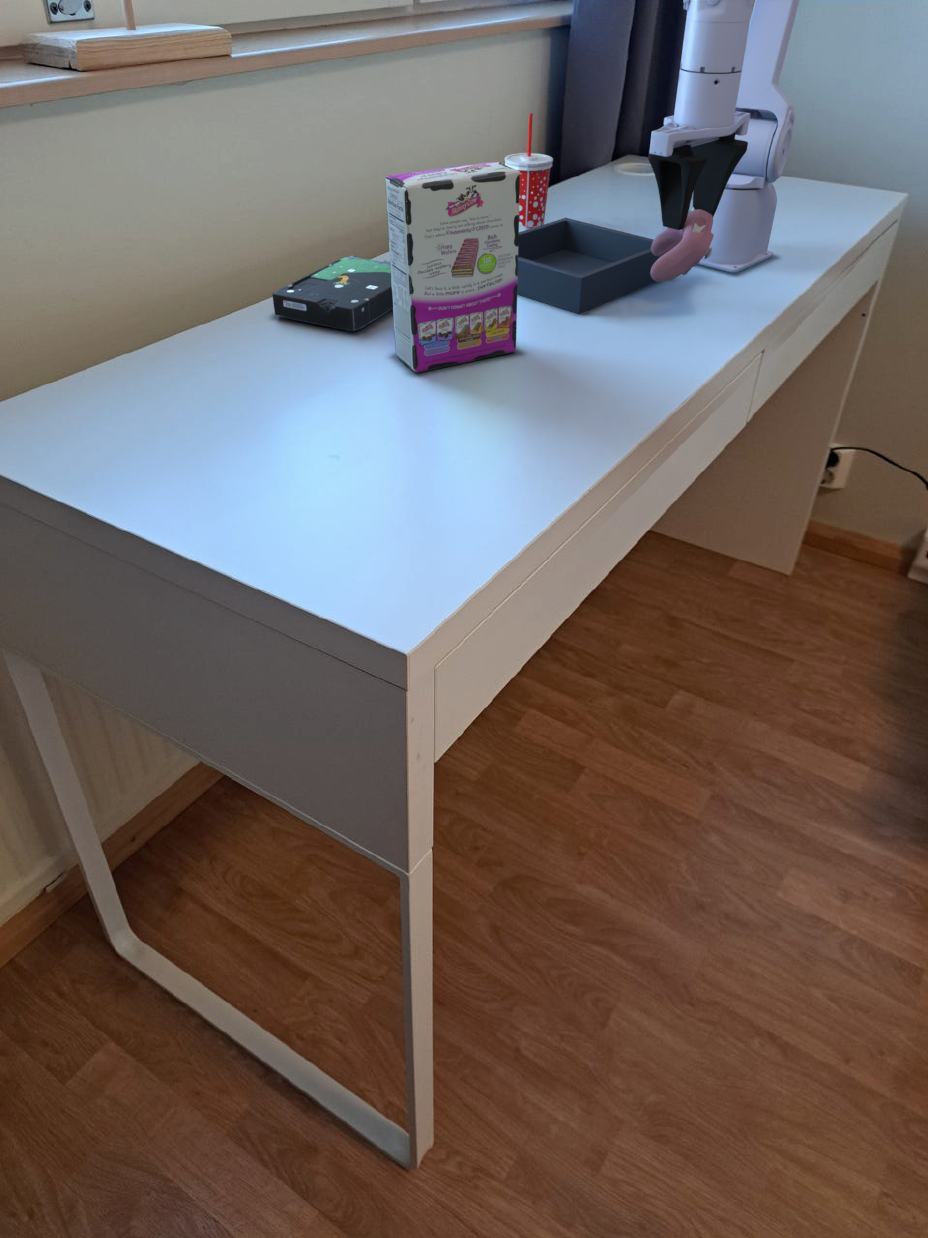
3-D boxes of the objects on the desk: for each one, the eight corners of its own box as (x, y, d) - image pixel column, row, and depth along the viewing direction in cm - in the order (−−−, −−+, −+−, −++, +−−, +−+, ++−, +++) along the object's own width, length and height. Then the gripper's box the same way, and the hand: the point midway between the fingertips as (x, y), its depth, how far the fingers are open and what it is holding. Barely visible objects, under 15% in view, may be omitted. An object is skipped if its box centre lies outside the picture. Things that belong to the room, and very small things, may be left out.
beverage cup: (549, 226, 124) (556, 109, 115) (548, 239, 119) (555, 118, 110) (504, 224, 124) (507, 108, 115) (501, 238, 119) (504, 117, 111)
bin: (563, 249, 116) (565, 217, 113) (667, 277, 107) (671, 243, 105) (473, 280, 106) (473, 246, 104) (579, 313, 98) (582, 277, 96)
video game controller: (684, 300, 94) (726, 237, 89) (646, 277, 93) (686, 213, 88) (682, 269, 101) (720, 210, 97) (647, 248, 100) (684, 188, 96)
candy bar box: (492, 336, 93) (496, 158, 83) (517, 353, 89) (524, 170, 79) (391, 356, 89) (382, 172, 79) (413, 374, 85) (406, 185, 75)
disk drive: (357, 336, 93) (426, 289, 104) (355, 309, 91) (425, 264, 102) (273, 319, 97) (348, 276, 107) (269, 292, 95) (346, 251, 105)
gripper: (715, 57, 92) (694, 201, 101) (630, 72, 84) (614, 228, 93) (778, 64, 89) (751, 213, 97) (696, 81, 80) (673, 242, 89)
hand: (688, 221), depth 95 cm, fingers closed on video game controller, 5 cm apart
